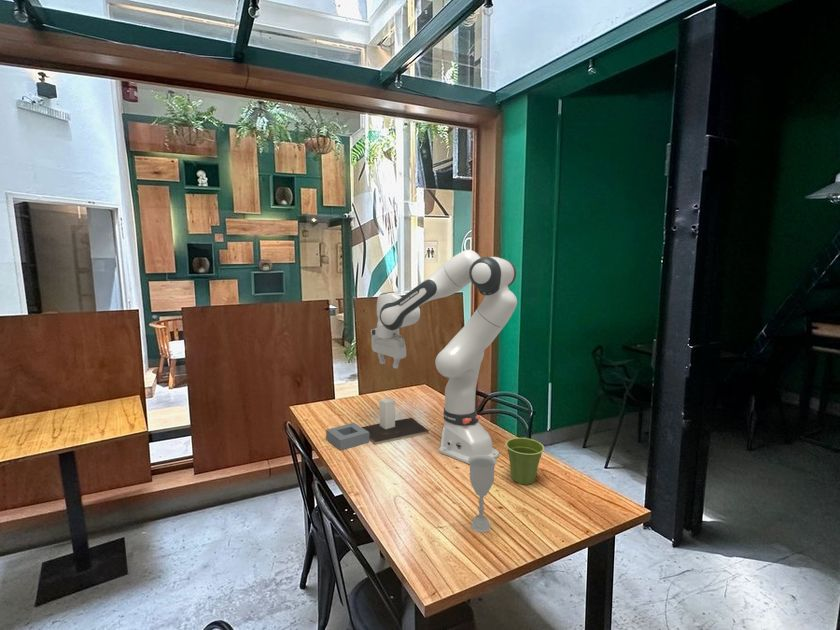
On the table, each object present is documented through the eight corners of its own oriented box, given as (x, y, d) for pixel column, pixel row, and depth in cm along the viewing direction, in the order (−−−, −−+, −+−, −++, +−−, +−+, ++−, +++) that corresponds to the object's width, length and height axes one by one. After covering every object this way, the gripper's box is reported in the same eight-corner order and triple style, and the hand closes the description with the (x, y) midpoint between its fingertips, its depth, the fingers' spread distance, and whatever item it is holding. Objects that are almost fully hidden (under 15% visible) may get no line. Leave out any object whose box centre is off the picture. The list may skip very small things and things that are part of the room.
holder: (369, 442, 163) (369, 432, 162) (340, 450, 156) (340, 440, 155) (354, 432, 172) (353, 422, 172) (326, 439, 165) (326, 429, 165)
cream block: (395, 426, 174) (394, 400, 173) (385, 429, 171) (385, 402, 170) (389, 423, 178) (388, 397, 176) (379, 425, 175) (379, 399, 174)
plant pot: (515, 491, 129) (516, 456, 127) (498, 472, 140) (499, 439, 138) (550, 486, 132) (552, 451, 130) (530, 468, 143) (531, 435, 142)
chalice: (492, 518, 115) (493, 454, 113) (497, 534, 109) (499, 466, 106) (465, 518, 115) (466, 454, 113) (468, 534, 108) (469, 467, 106)
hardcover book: (428, 435, 171) (428, 430, 171) (374, 447, 160) (374, 441, 160) (411, 422, 185) (411, 417, 185) (360, 431, 175) (360, 426, 174)
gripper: (409, 334, 166) (410, 369, 168) (381, 328, 182) (381, 360, 184) (396, 336, 162) (397, 372, 164) (368, 330, 178) (369, 362, 180)
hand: (388, 365), depth 174 cm, fingers open, 8 cm apart
